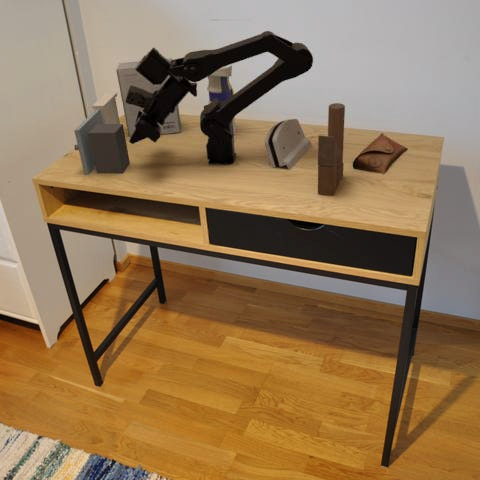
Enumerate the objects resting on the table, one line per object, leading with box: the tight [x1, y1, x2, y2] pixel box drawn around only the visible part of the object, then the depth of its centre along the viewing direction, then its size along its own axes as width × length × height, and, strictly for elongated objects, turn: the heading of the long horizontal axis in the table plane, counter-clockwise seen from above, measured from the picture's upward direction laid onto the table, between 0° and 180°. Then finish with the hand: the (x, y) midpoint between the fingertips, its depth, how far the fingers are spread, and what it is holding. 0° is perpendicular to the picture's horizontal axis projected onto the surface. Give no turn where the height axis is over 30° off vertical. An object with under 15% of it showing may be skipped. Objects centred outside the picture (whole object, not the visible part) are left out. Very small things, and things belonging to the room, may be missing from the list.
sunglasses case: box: [352, 133, 408, 175], centre depth 140 cm, size 18×7×7 cm
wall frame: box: [92, 92, 121, 124], centre depth 157 cm, size 3×11×13 cm, turn 172°
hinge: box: [264, 118, 313, 171], centre depth 144 cm, size 17×5×10 cm, turn 154°
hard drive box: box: [115, 57, 182, 138], centre depth 161 cm, size 16×8×20 cm, turn 94°
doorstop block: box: [88, 123, 131, 175], centre depth 142 cm, size 7×6×11 cm
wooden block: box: [317, 102, 346, 197], centre depth 125 cm, size 4×11×18 cm, turn 159°
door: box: [73, 109, 103, 175], centre depth 147 cm, size 3×16×12 cm, turn 172°
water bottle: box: [206, 42, 237, 136], centre depth 155 cm, size 8×9×25 cm
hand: (130, 142), depth 142 cm, fingers closed
